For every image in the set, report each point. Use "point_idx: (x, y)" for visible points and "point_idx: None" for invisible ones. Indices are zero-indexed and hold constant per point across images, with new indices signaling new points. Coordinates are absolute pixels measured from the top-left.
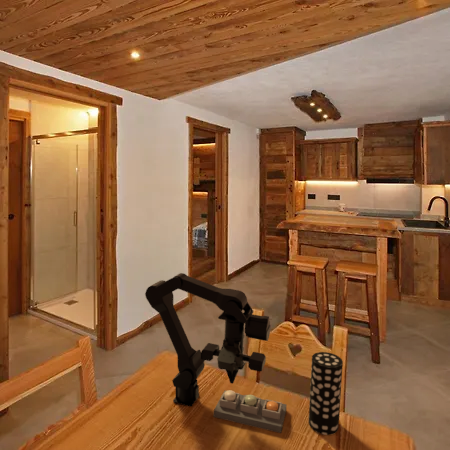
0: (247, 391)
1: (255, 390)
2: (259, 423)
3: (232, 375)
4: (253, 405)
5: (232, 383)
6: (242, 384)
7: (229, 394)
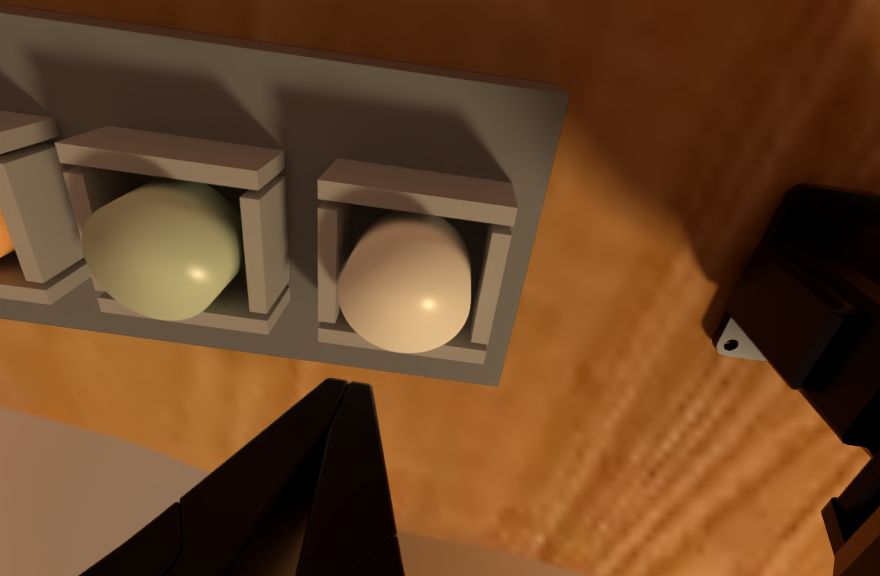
0: None
1: None
2: (52, 17)
3: (262, 501)
4: (125, 194)
5: (333, 379)
6: None
7: (407, 286)
